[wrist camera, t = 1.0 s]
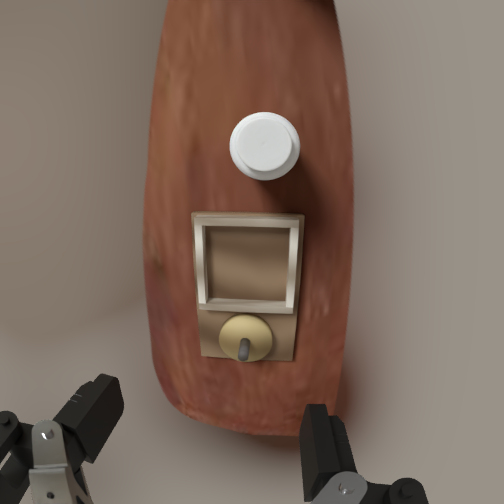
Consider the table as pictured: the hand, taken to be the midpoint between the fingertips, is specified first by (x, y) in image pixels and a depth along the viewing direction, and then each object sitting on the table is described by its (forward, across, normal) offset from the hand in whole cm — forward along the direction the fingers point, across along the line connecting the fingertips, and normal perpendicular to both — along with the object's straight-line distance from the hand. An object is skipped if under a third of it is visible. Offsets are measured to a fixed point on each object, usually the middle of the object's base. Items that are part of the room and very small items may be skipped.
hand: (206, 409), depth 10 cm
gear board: (+24, 0, +3) cm, 24 cm away
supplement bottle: (+22, -1, -13) cm, 26 cm away
